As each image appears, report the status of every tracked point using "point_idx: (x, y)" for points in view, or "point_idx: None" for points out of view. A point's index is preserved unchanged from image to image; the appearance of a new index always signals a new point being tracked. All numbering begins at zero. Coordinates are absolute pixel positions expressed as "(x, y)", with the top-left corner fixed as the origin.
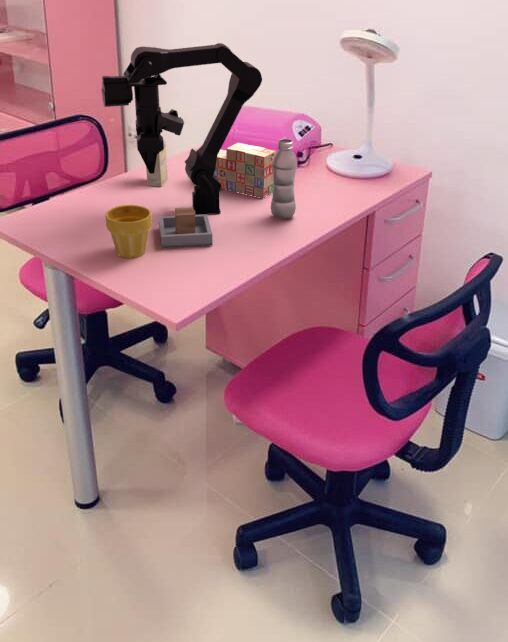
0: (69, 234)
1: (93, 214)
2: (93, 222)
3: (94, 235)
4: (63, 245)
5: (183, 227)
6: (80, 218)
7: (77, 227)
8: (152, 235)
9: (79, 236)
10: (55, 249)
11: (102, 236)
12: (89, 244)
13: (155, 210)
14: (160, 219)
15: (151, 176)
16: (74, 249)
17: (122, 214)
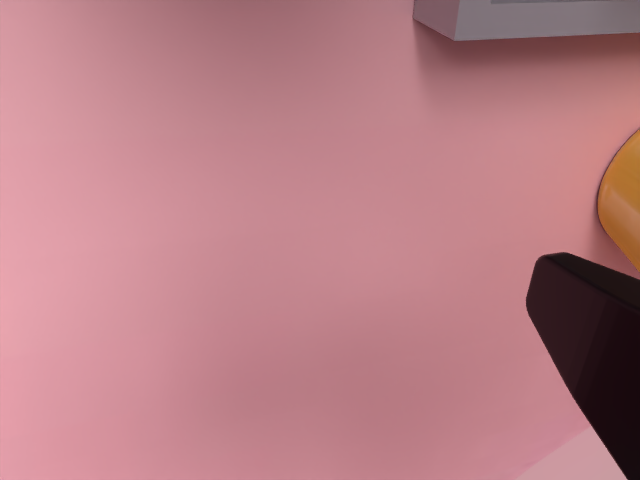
0: (385, 449)
1: (139, 423)
2: (258, 397)
3: (422, 359)
4: (486, 438)
5: None
6: (197, 460)
7: (312, 442)
8: (512, 68)
9: (416, 411)
10: (511, 451)
11: (444, 325)
12: (511, 357)
13: (43, 47)
14: (508, 27)
15: None
16: (536, 396)
17: None
